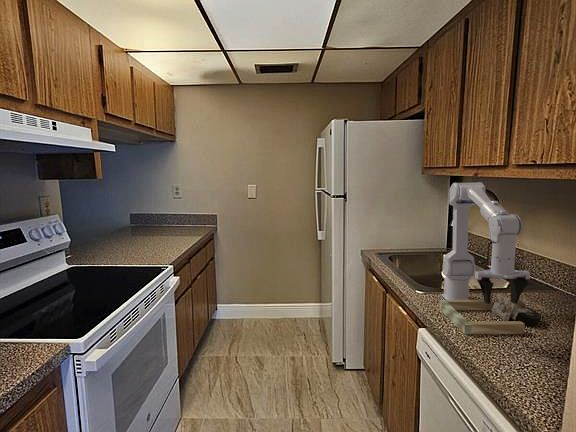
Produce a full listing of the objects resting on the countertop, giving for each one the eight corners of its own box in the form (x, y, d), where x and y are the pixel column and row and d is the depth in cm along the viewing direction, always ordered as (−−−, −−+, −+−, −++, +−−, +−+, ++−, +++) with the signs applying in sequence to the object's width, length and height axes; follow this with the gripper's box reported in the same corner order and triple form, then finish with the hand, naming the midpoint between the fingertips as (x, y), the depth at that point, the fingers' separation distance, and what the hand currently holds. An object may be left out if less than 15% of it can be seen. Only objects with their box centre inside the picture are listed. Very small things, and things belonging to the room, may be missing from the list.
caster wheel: (542, 331, 114) (518, 331, 111) (512, 311, 124) (489, 310, 121) (550, 313, 112) (526, 313, 109) (519, 294, 122) (496, 293, 119)
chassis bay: (438, 308, 128) (438, 300, 127) (489, 307, 127) (489, 299, 127) (464, 334, 108) (464, 324, 108) (524, 333, 107) (524, 324, 107)
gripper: (484, 261, 100) (482, 308, 102) (538, 260, 99) (534, 307, 101) (472, 254, 107) (470, 299, 109) (522, 253, 106) (519, 298, 108)
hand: (500, 302), depth 105 cm, fingers open, 7 cm apart
